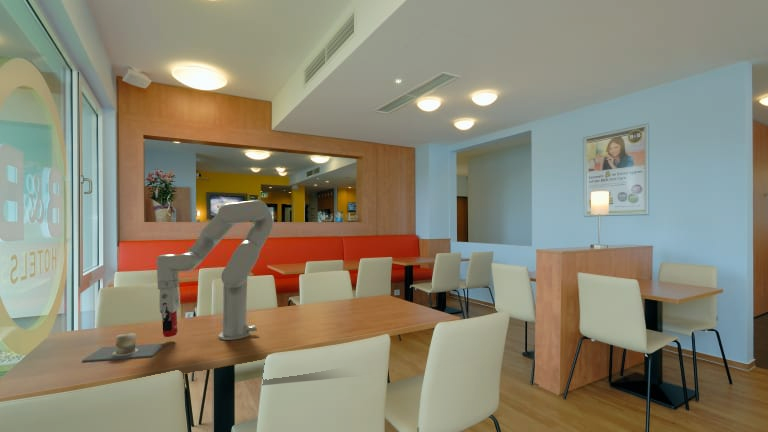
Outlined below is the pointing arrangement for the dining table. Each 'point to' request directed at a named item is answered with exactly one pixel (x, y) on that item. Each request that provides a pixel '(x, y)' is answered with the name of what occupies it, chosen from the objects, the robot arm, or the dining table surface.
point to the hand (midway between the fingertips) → (169, 328)
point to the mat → (110, 354)
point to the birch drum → (125, 343)
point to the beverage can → (174, 325)
